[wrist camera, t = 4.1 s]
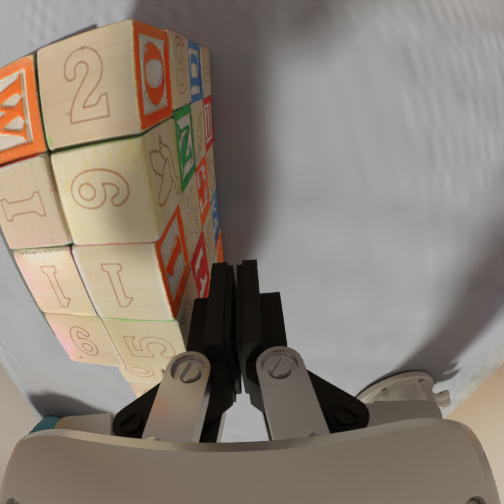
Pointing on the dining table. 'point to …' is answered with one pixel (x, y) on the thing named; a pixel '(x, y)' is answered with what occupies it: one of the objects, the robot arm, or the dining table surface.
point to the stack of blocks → (112, 191)
